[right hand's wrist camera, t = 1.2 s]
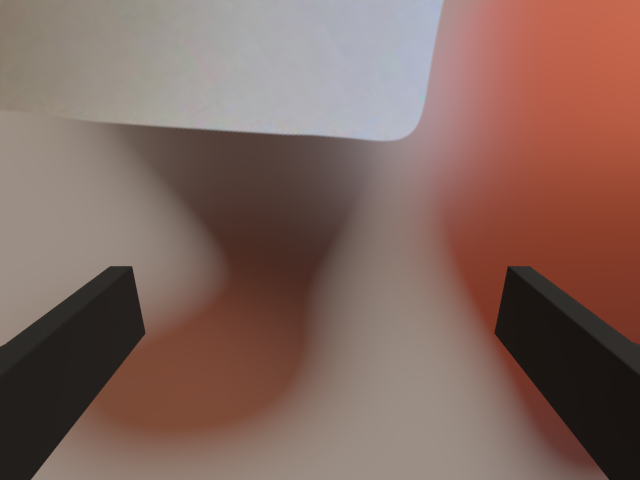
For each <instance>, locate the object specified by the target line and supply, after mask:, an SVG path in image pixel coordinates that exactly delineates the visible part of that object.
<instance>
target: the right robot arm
mask: <svg viewBox="0 0 640 480" xmlns="http://www.w3.org/2000/svg"><path fill="white" fill-rule="evenodd" d="M144 335H145V329H144V324H143V319H142V314H141V309H140V304H139V299H138V294H137V289H136V284H135V279H134V274H133V269H132V266H110V267H109V268H107V269H106V270H105V271H103V272H102V273H100V274H99V275H98V276H96V277H95V278H94V279H93V280H91V281H90V282H88V283H87V284H86V285H84V286H83V287H82V288H80V289H79V290H78V291H76V292H75V293H74V294H72V295H71V296H69V297H68V298H67V299H65V300H64V301H63V302H61V303H60V304H59V305H57V306H56V307H55V308H53V309H52V310H51V311H49V312H48V313H47V314H45V315H44V316H43V317H41V318H40V319H39V320H37V321H36V322H34V323H33V324H32V325H30V326H29V327H28V328H26V329H25V330H24V331H22V332H21V333H20V334H18V335H17V336H16V337H14V338H13V339H12V340H10V341H9V342H7V343H6V344H5V345H3V346H1V347H0V480H31V479H32V477H33V476H34V475H35V474H36V472H37V471H38V470H39V469H40V467H41V466H42V465H43V463H44V462H45V461H46V460H47V458H48V457H49V456H50V454H51V453H52V452H53V451H54V449H55V448H56V447H57V446H58V444H59V443H60V442H61V440H62V439H63V438H64V437H65V435H66V434H67V433H68V432H69V430H70V429H71V428H72V426H73V425H74V424H75V423H76V421H77V420H78V419H79V417H80V416H81V415H82V414H83V412H84V411H85V410H86V409H87V407H88V406H89V405H90V403H91V402H92V401H93V400H94V398H95V397H96V396H97V395H98V393H99V392H100V391H101V389H102V388H103V387H104V386H105V384H106V383H107V382H108V380H109V379H110V378H111V377H112V375H113V374H114V373H115V371H116V370H117V369H118V368H119V366H120V365H121V364H122V363H123V361H124V360H125V359H126V357H127V356H128V355H129V354H130V352H131V351H132V350H133V349H134V347H135V346H136V345H137V343H138V342H139V341H140V340H141V338H142V337H143V336H144ZM495 335H496V336H497V337H498V338H499V340H500V341H501V342H502V343H503V345H504V346H505V347H506V349H507V350H508V351H509V352H510V354H511V355H512V356H513V358H514V359H515V360H516V361H517V363H518V364H519V365H520V366H521V368H522V369H523V370H524V371H525V373H526V374H527V375H528V377H529V378H530V379H531V380H532V382H533V383H534V384H535V386H536V387H537V388H538V389H539V391H540V392H541V393H542V395H543V396H544V397H545V398H546V400H547V401H548V402H549V403H550V405H551V406H552V407H553V408H554V410H555V411H556V412H557V414H558V415H559V416H560V417H561V419H562V420H563V421H564V423H565V424H566V425H567V426H568V428H569V429H570V430H571V432H572V433H573V434H574V435H575V437H576V438H577V439H578V440H579V442H580V443H581V444H582V446H583V447H584V448H585V449H586V451H587V452H588V453H589V454H590V456H591V457H592V458H593V460H594V461H595V462H596V463H597V465H598V466H599V467H600V469H601V470H602V471H603V472H604V474H605V475H606V476H607V477H608V479H609V480H640V345H639V344H636V343H633V342H631V341H630V340H628V339H627V338H626V337H624V336H623V335H622V334H620V333H619V332H618V331H616V330H615V329H614V328H612V327H611V326H610V325H608V324H607V323H606V322H604V321H603V320H602V319H600V318H599V317H597V316H596V315H595V314H593V313H592V312H591V311H589V310H588V309H587V308H585V307H584V306H583V305H581V304H580V303H578V302H577V301H576V300H575V299H573V298H572V297H571V296H569V295H568V294H566V293H565V292H564V291H562V290H561V289H560V288H558V287H557V286H556V285H554V284H553V283H552V282H550V281H549V280H548V279H546V278H545V277H544V276H542V275H541V274H540V273H538V272H537V271H535V270H534V269H533V268H531V267H530V266H508V269H507V274H506V279H505V284H504V289H503V294H502V299H501V304H500V309H499V314H498V319H497V324H496V329H495Z"/></svg>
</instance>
